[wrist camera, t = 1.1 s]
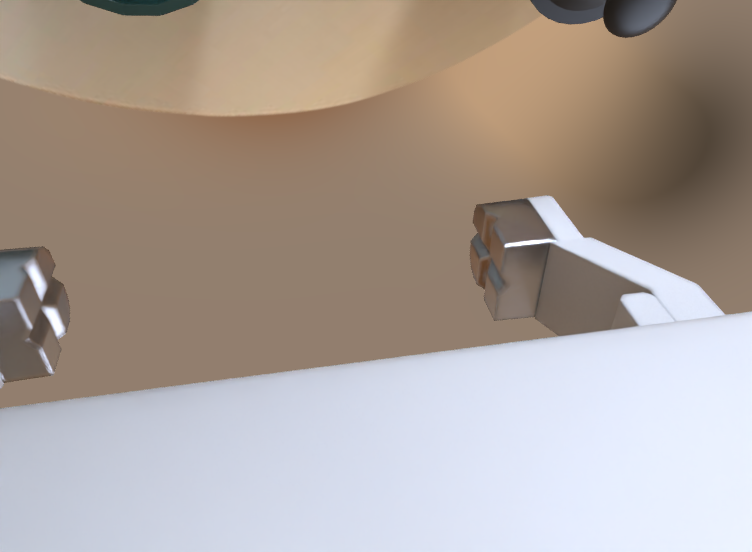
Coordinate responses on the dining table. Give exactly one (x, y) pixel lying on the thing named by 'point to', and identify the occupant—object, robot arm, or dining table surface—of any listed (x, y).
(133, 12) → the pot
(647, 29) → the french press
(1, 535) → the robot arm
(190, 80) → the dining table surface
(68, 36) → the dining table surface
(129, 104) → the dining table surface
